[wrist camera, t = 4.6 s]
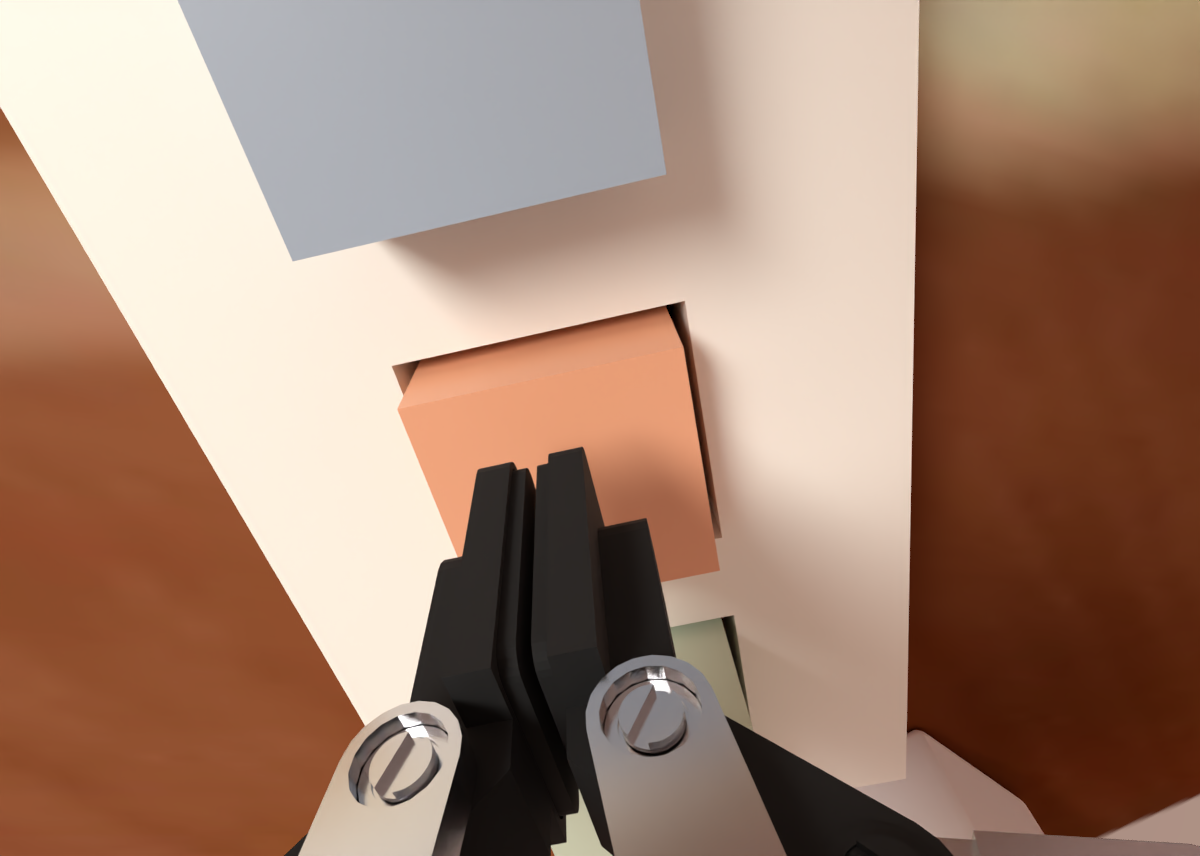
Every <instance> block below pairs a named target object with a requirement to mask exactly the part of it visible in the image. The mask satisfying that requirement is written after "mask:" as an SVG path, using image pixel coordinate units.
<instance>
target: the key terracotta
mask: <svg viewBox="0 0 1200 856" xmlns="http://www.w3.org/2000/svg"><path fill="white" fill-rule="evenodd" d="M397 410H398V413H399V415H400V417H401V420H402V422H403V425H404V427H405V430H406V432H407V435H408V437H409V439H410V442H411V444H412V447H413V449H414V452H415V454H416V457H417V459H418V461H419V464H420V466H421V469H422V471H423V474H424V476H425V479H426V481H427V483H428V486H429V488H430V491H431V493H432V496H433V498H434V501H435V503H436V505H437V508H438V510H439V513H440V515H441V518H442V520H443V523H444V525H445V527H446V530H447V532H448V535H449V537H450V540H451V542H452V545H453V547H454V549H455V552H456V554H457V557H461V556H462V554H463V549H464V543H465V537H466V531H467V525H468V520H469V514H470V508H471V502H472V497H473V491H474V485H475V479H476V474H477V471H478V469H481V468H485V467H490V466H494V465H499V464H504V463H508V462H513V463H514V464H515V466H516V467H517V470H519V469H524V468H528V469H529V471H530V473H531V476H532V479H533V482H534V485H535V488H536V478H537V466H538V465H542V464H547V463H548V455H549V454H550V453H555V452H560V451H564V450H569V449H574V448H578V447H583V448H584V451H585V454H586V457H587V461H588V465H589V469H590V472H591V476H592V480H593V484H594V488H595V491H596V495H597V499H598V503H599V506H600V510H601V514H602V518H603V521H604V525H605V526H610V525H615V524H619V523H624V522H629V521H634V520H639V519H643V518H647V522H648V526H649V530H650V535H651V539H652V544H653V548H654V553H655V557H656V562H657V566H658V571H659V576H660V580H661V582H665V581H670V580H675V579H680V578H685V577H690V576H695V575H700V574H705V573H710V572H715V571H720V568H719V562H718V556H717V549H716V543H715V537H714V531H713V525H712V519H711V513H710V507H709V501H708V494H707V488H706V482H705V476H704V470H703V464H702V458H701V452H700V446H699V439H698V433H697V427H696V421H695V415H694V409H693V403H692V397H691V391H690V384H689V378H688V372H687V366H686V360H685V354H684V348H683V345H682V343H681V340H680V338H679V336H678V333H677V331H676V329H675V326H674V324H673V322H672V320H671V317H670V315H669V313H668V310H667V308H666V306H665V305H664V306H659V307H655V308H650V309H646V310H641V311H637V312H632V313H628V314H623V315H619V316H614V317H610V318H605V319H601V320H596V321H592V322H587V323H583V324H578V325H574V326H569V327H565V328H560V329H556V330H551V331H547V332H542V333H538V334H533V335H529V336H524V337H520V338H515V339H511V340H506V341H502V342H497V343H493V344H488V345H484V346H479V347H475V348H470V349H466V350H461V351H457V352H452V353H448V354H443V355H439V356H434V357H430V358H425V359H421V360H420V362H419V364H418V366H417V368H416V370H415V372H414V375H413V377H412V379H411V381H410V383H409V385H408V387H407V389H406V392H405V394H404V396H403V398H402V400H401V402H400V404H399V406H398V409H397Z"/></svg>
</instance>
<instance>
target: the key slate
mask: <svg viewBox="0 0 1200 856" xmlns="http://www.w3.org/2000/svg"><path fill="white" fill-rule="evenodd" d="M178 3H179V5H180V7H181V9H182V12H183V14H184V16H185V19H186V21H187V23H188V25H189V28H190V30H191V32H192V34H193V37H194V39H195V41H196V43H197V46H198V48H199V50H200V52H201V55H202V57H203V59H204V62H205V64H206V66H207V68H208V71H209V73H210V75H211V77H212V80H213V82H214V84H215V86H216V89H217V91H218V93H219V96H220V98H221V100H222V102H223V105H224V107H225V109H226V111H227V114H228V116H229V118H230V120H231V123H232V125H233V127H234V130H235V132H236V134H237V136H238V139H239V141H240V143H241V145H242V148H243V150H244V152H245V154H246V157H247V159H248V161H249V164H250V166H251V168H252V170H253V173H254V175H255V177H256V179H257V182H258V184H259V186H260V188H261V191H262V193H263V195H264V197H265V200H266V202H267V204H268V207H269V209H270V211H271V213H272V216H273V218H274V220H275V222H276V225H277V227H278V229H279V231H280V234H281V236H282V238H283V241H284V243H285V245H286V247H287V250H288V252H289V254H290V256H291V259H292V261H297V260H302V259H306V258H310V257H314V256H319V255H323V254H327V253H332V252H336V251H340V250H344V249H349V248H353V247H357V246H362V245H366V244H370V243H374V242H379V241H383V240H387V239H392V238H396V237H400V236H404V235H409V234H413V233H417V232H422V231H426V230H430V229H435V228H439V227H443V226H447V225H452V224H456V223H460V222H465V221H469V220H473V219H477V218H482V217H486V216H490V215H495V214H499V213H503V212H507V211H512V210H516V209H520V208H525V207H529V206H533V205H537V204H542V203H546V202H550V201H555V200H559V199H563V198H567V197H572V196H576V195H580V194H585V193H589V192H593V191H597V190H602V189H606V188H610V187H615V186H619V185H623V184H627V183H632V182H636V181H640V180H645V179H649V178H653V177H657V176H662V175H666V168H665V161H664V155H663V148H662V142H661V135H660V129H659V123H658V116H657V110H656V103H655V97H654V90H653V84H652V78H651V71H650V65H649V58H648V52H647V45H646V39H645V33H644V26H643V20H642V13H641V7H640V1H639V0H178Z"/></svg>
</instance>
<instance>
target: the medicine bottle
mask: <svg viewBox="0 0 1200 856" xmlns="http://www.w3.org/2000/svg"><path fill="white" fill-rule="evenodd" d="M855 789H857V790H859V791H860V792H862V793H864V794H866V795H868V796H869V797H871V798H873V799H875V800H876V801H878V802H880V803H882V804H884V805H885V806H887V807H889V808H891V809H892V810H894V811H896V812H898V813H900V814H901V815H903V816H905V817H907V818H908V819H910V820H912V821H914V822H916V823H917V824H919V825H920V826H921V827H923V828H924V829H925V830H927V831H928V832H930V833H931V834H932V835H934V836H935V837H941V838H956V839H971V840H972V837H973V830H977V831H993V832H1009V833H1025V834H1041V835H1044V833H1043V831H1042V830H1041V828H1040V827H1039V825H1038V824H1037V822H1036V820H1035V819H1034V817H1033V816H1032V814H1031V812H1030V811H1029V809H1028V808H1027V806H1026V804H1025V803H1024V802H1023V801H1022V800H1021V799H1019V798H1018V797H1016V796H1015V795H1013V794H1012V793H1011V792H1009V791H1008V790H1006V789H1005V788H1003V787H1002V786H1001V785H999V784H998V783H996V782H995V781H993V780H992V779H991V778H989V777H988V776H986V775H985V774H983V773H982V772H981V771H979V770H978V769H976V768H975V767H973V766H972V765H971V764H969V763H968V762H966V761H965V760H963V759H962V758H961V757H959V756H958V755H956V754H955V753H954V752H952V751H951V750H949V749H948V748H946V747H945V746H944V745H942V744H941V743H939V742H938V741H936V740H935V739H934V738H932V737H931V736H929V735H928V734H926V733H925V732H923V731H920V730H913V731H911V732H909V733H908V734H907V745H906V779H902V780H896V781H891V782H885V783H880V784H874V785H868V786H863V787H857V788H855Z"/></svg>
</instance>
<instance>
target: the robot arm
mask: <svg viewBox="0 0 1200 856" xmlns="http://www.w3.org/2000/svg"><path fill="white" fill-rule="evenodd" d="M579 790H580V793H581V795H582V798H583V800H584V803H585V805H586V808H587V811H588V813H589V816H590V818H591V821H592V823H593V826H594V829H595V831H596V834H597V836H598V839H599V841H600V844H601V846H602V847H603V848H604V849H605V850H607V851H608V852H609V853H610V854H611V855H613V856H1200V846H1196V845H1192V844H1183V843H1167V842H1151V841H1136V840H1119V839H1104V838H1088V837H1072V836H1056V835H1041V834H1025V833H1009V832H993V831H977V830H973V837H972V840H971V839H956V838H941V837H935V836H934V835H932V834H931V833H930V832H928V831H927V830H925V829H924V828H923V827H921V826H920V825H919V824H917V823H916V822H914V821H912V820H910V819H908V818H907V817H905V816H903V815H901V814H900V813H898V812H896V811H894V810H892V809H891V808H889V807H887V806H885V805H884V804H882V803H880V802H878V801H876V800H875V799H873V798H871V797H869V796H868V795H866V794H864V793H862V792H860V791H859V790H857V789H855V788H853V787H852V786H850V785H848V784H846V783H844V782H843V781H841V780H839V779H837V778H835V777H834V776H832V775H830V774H828V773H827V772H825V771H823V770H821V769H819V768H818V767H816V766H814V765H812V764H811V763H809V762H807V761H805V760H803V759H802V758H800V757H798V756H796V755H795V754H793V753H791V752H789V751H787V750H786V749H784V748H782V747H780V746H779V745H777V744H775V743H773V742H771V741H770V740H768V739H766V738H764V737H763V736H761V735H759V734H757V733H755V732H754V731H752V730H750V729H748V728H746V727H745V726H743V725H741V724H739V723H738V722H736V721H734V720H732V719H730V718H729V717H727V716H725V715H724V713H723V711H722V709H721V706H720V704H719V702H718V700H717V697H716V695H715V693H714V691H713V688H712V687H711V685H710V684H709V682H708V681H707V679H706V678H705V676H704V675H703V673H702V672H700V671H699V670H698V669H696V668H695V667H694V666H692V665H691V664H690V663H688V662H686V661H683V660H680V659H677V658H676V653H675V648H674V643H673V638H672V633H671V629H670V624H669V619H668V614H667V609H666V604H665V599H664V595H663V590H662V585H661V580H660V576H659V571H658V566H657V562H656V557H655V553H654V548H653V544H652V539H651V535H650V530H649V526H648V522H647V518H643V519H639V520H634V521H629V522H624V523H619V524H615V525H610V526H605V525H604V521H603V518H602V514H601V510H600V506H599V503H598V499H597V495H596V491H595V488H594V484H593V480H592V476H591V472H590V469H589V465H588V461H587V457H586V454H585V451H584V448H583V447H578V448H574V449H569V450H564V451H560V452H555V453H550V454H549V455H548V463H547V464H542V465H538V466H537V478H536V488H535V485H534V482H533V479H532V476H531V473H530V471H529V469H528V468H524V469H519V470H517V467H516V466H515V464H514V463H513V462H508V463H504V464H499V465H494V466H490V467H485V468H481V469H478V471H477V474H476V479H475V485H474V491H473V497H472V502H471V508H470V514H469V520H468V525H467V531H466V537H465V543H464V549H463V554H462V556H461V557H456V558H452V559H447V560H444V561H443V562H442V563H441V564H440V566H439V569H438V573H437V577H436V582H435V587H434V591H433V596H432V601H431V605H430V610H429V615H428V619H427V624H426V629H425V633H424V638H423V643H422V647H421V652H420V657H419V661H418V666H417V671H416V675H415V680H414V685H413V689H412V694H411V699H410V703H406V704H401V705H399V706H397V707H395V708H393V709H390V710H388V711H386V712H384V713H382V714H381V715H379V716H378V717H377V718H375V719H374V720H373V721H371V722H370V723H369V724H367V725H366V726H365V727H364V728H363V729H362V730H361V731H360V732H359V733H358V735H357V736H356V737H355V738H354V739H353V740H352V741H351V742H350V744H349V746H348V747H347V749H346V751H345V753H344V754H343V756H342V758H341V759H340V761H339V764H338V766H337V768H336V771H335V773H334V775H333V777H332V780H331V782H330V784H329V787H328V789H327V791H326V793H325V796H324V798H323V800H322V803H321V805H320V807H319V810H318V812H317V814H316V816H315V819H314V821H313V823H312V826H311V828H310V830H309V832H308V834H306V835H305V836H304V837H303V838H302V839H301V840H300V841H299V842H298V843H297V844H296V845H295V846H294V847H293V848H292V849H291V850H290V851H289V852H287V853H286V854H285V855H284V856H551V845H556V844H561V843H567V832H566V815H571V814H576V813H578V811H579Z"/></svg>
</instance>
